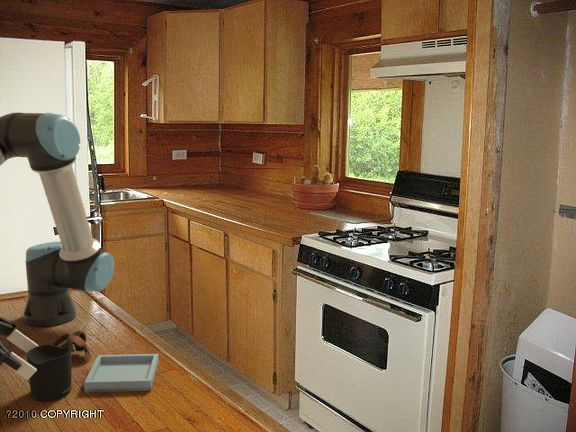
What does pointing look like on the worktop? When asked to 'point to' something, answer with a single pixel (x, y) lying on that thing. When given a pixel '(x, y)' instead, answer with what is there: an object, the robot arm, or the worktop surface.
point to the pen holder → (50, 372)
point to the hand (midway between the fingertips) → (33, 362)
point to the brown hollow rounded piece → (74, 343)
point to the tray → (122, 373)
